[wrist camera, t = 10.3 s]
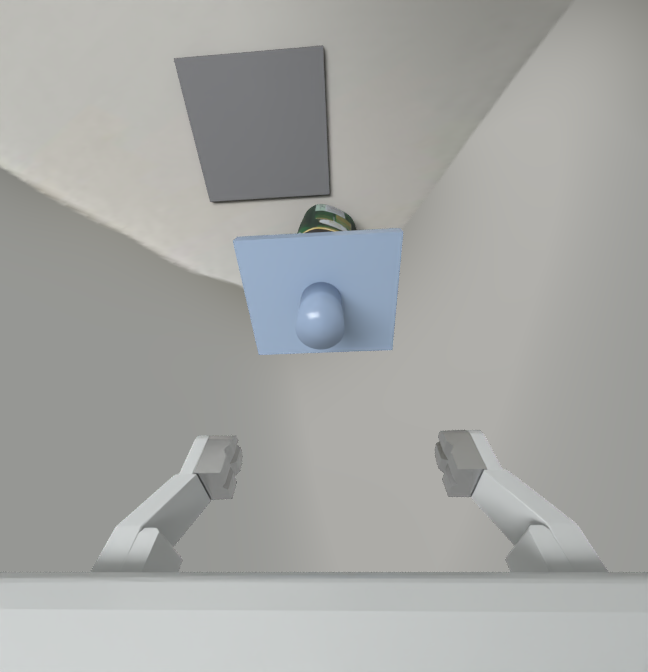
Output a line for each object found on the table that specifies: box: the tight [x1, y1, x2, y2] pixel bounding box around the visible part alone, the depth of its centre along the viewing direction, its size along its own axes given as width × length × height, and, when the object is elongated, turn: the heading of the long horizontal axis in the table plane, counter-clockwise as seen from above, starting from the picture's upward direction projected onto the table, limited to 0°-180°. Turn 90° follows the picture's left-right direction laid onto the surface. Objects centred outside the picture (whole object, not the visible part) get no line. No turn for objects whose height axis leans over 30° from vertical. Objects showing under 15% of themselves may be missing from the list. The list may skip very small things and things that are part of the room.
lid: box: [233, 228, 403, 355], centre depth 23 cm, size 11×13×6 cm
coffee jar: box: [297, 204, 356, 234], centre depth 33 cm, size 10×8×19 cm
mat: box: [174, 46, 330, 202], centre depth 34 cm, size 14×16×1 cm
